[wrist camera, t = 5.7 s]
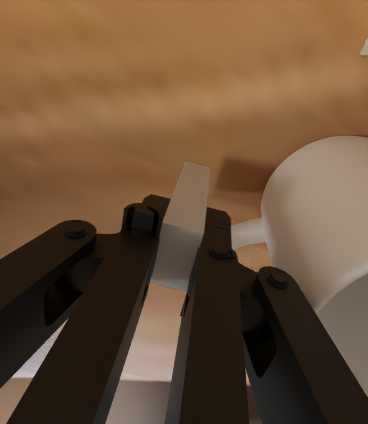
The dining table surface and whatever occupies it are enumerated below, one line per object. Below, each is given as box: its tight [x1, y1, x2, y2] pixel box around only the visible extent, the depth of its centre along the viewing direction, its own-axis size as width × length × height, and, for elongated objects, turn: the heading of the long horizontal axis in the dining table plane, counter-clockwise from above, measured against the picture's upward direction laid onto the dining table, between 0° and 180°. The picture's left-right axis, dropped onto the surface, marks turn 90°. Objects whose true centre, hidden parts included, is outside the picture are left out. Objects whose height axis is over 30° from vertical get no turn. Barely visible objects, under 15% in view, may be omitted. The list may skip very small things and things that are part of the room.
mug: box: [231, 135, 368, 397], centre depth 13 cm, size 12×8×10 cm
